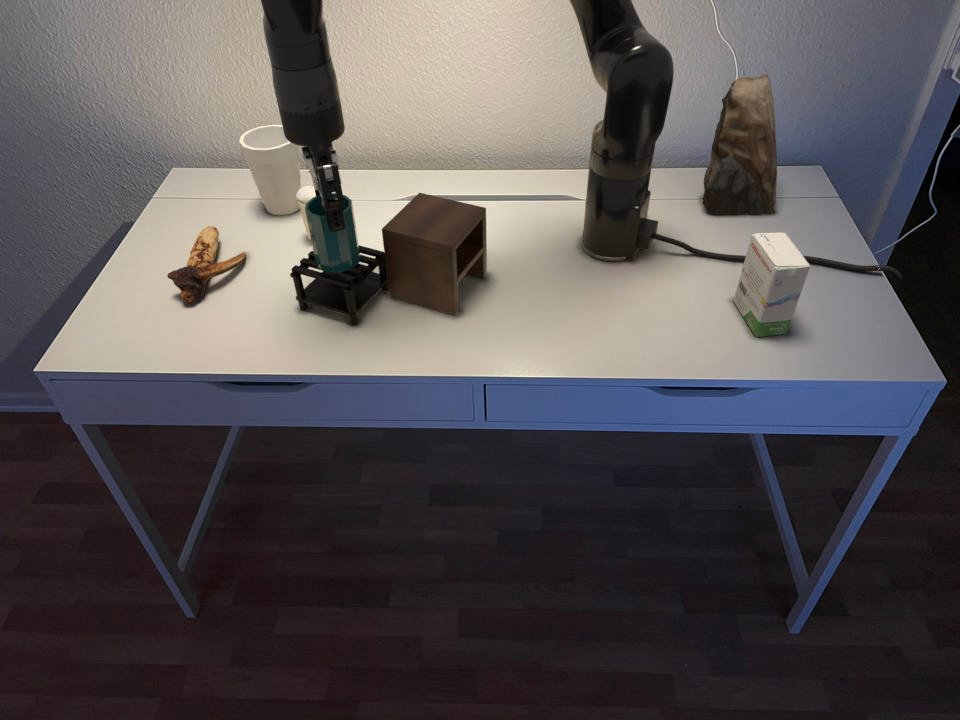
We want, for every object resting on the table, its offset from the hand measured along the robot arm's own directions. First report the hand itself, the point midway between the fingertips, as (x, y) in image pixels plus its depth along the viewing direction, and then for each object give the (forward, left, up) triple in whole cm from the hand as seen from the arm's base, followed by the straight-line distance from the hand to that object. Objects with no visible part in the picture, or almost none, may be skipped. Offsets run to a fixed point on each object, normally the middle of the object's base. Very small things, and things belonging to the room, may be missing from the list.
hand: (330, 214), depth 98 cm
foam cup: (+25, -18, -15) cm, 35 cm away
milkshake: (+13, -12, -15) cm, 23 cm away
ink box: (-57, -20, -15) cm, 62 cm away
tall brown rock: (-48, -51, -15) cm, 72 cm away
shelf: (-11, -8, -15) cm, 20 cm away
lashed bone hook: (+23, +3, -15) cm, 27 cm away
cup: (0, 0, -8) cm, 8 cm away
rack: (0, 0, -15) cm, 15 cm away
